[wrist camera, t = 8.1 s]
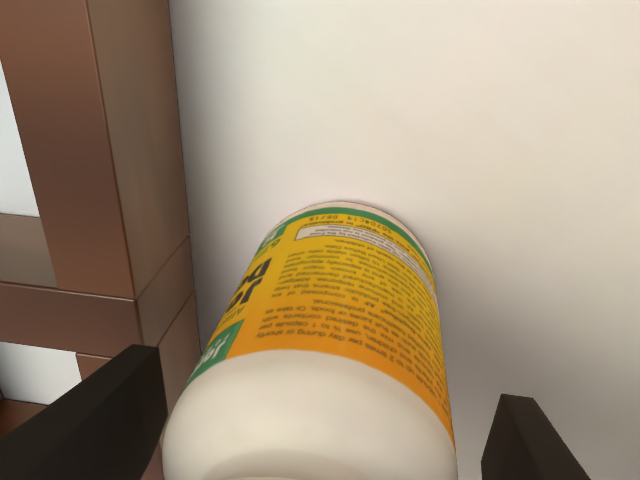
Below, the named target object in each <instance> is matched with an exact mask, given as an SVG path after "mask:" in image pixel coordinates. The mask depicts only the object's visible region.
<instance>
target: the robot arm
mask: <svg viewBox="0 0 640 480" xmlns="http://www.w3.org/2000/svg"><path fill="white" fill-rule="evenodd" d="M168 415H169V414H168V407H167V400H166V393H165V386H164V379H163V372H162V365H161V358H160V351H159V347H152V346H144V345H137V344H132V345H130V346H129V347H127V348H126V349H124V350H123V351H122V352H120V353H119V354H118V355H116V356H115V357H114V358H112V359H111V360H110V361H108V362H107V363H106V364H104V365H103V366H102V367H100V368H99V369H98V370H96V371H95V372H94V373H92V374H91V375H90V376H88V377H87V378H86V379H84V380H83V381H82V382H80V383H79V384H78V385H76V386H75V387H73V388H72V389H71V390H69V391H68V392H67V393H65V394H64V395H62V396H61V397H60V398H58V399H57V400H56V401H54V402H53V403H51V404H50V405H49V406H47V407H46V408H45V409H43V410H42V411H40V412H39V413H37V414H36V415H34V416H33V417H31V418H30V419H28V420H27V421H26V422H24V423H23V424H21V425H20V426H18V427H17V428H15V429H14V430H12V431H11V432H9V433H8V434H6V435H5V436H3V437H2V438H0V480H141V478H142V476H143V474H144V472H145V470H146V469H147V467H148V465H149V463H150V461H151V459H152V456H153V454H154V451H155V449H156V446H157V444H158V442H159V439H160V436H161V434H162V431H163V429H164V426H165V423H166V421H167V418H168ZM481 470H482V480H591V479H590V478H589V476H588V475H587V474H586V472H585V471H584V470H583V468H582V467H581V465H580V464H579V463H578V461H577V460H576V458H575V457H574V456H573V454H572V453H571V451H570V450H569V449H568V447H567V446H566V444H565V443H564V442H563V440H562V439H561V437H560V436H559V434H558V433H557V431H556V430H555V429H554V427H553V426H552V424H551V423H550V421H549V420H548V418H547V417H546V416H545V414H544V413H543V411H542V410H541V408H540V407H539V405H538V404H537V403H536V401H535V400H534V399H533V398H530V397H523V396H515V395H508V394H501V396H500V400H499V403H498V406H497V410H496V413H495V416H494V420H493V423H492V426H491V430H490V433H489V436H488V440H487V443H486V446H485V450H484V453H483V456H482V460H481Z"/></svg>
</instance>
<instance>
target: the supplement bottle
mask: <svg viewBox="0 0 640 480" xmlns="http://www.w3.org/2000/svg"><path fill="white" fill-rule="evenodd" d="M162 463H163V474H164V479H165V480H458V469H457V459H456V449H455V440H454V434H453V427H452V419H451V410H450V402H449V395H448V387H447V379H446V370H445V363H444V355H443V346H442V338H441V328H440V320H439V310H438V304H437V294H436V287H435V280H434V275H433V271H432V267H431V264H430V262H429V260H428V257H427V255H426V253H425V251H424V249H423V248H422V246H421V245H420V243H419V242H418V240H417V239H416V238H415V236H414V235H413V234H412V233H411V232H410V231H409V230H408V229H407V228H406V227H405V226H404V225H403V224H401V223H400V222H399V221H397V220H396V219H395V218H393V217H392V216H390V215H388V214H386V213H384V212H382V211H380V210H378V209H375V208H372V207H369V206H366V205H361V204H356V203H350V202H329V203H323V204H317V205H313V206H310V207H307V208H304V209H302V210H300V211H297V212H295V213H293V214H291V215H290V216H288V217H287V218H285V219H284V220H282V221H281V222H280V223H278V224H277V225H276V226H275V227H274V228H273V229H272V230H270V232H269V233H268V234H267V235H266V237H265V238H264V240H263V242H262V243H261V245H260V247H259V249H258V251H257V252H256V254H255V256H254V258H253V260H252V262H251V264H250V266H249V268H248V270H247V271H246V273H245V275H244V277H243V279H242V281H241V283H240V285H239V287H238V289H237V291H236V292H235V294H234V296H233V298H232V300H231V301H230V303H229V305H228V307H227V309H226V311H225V313H224V315H223V317H222V319H221V320H220V322H219V324H218V326H217V328H216V330H215V331H214V333H213V335H212V337H211V339H210V341H209V343H208V344H207V346H206V348H205V350H204V352H203V354H202V356H201V358H200V359H199V361H198V363H197V365H196V367H195V368H194V370H193V372H192V374H191V376H190V378H189V380H188V382H187V384H186V386H185V388H184V390H183V392H182V393H181V395H180V397H179V399H178V401H177V403H176V405H175V407H174V409H173V412H172V414H171V416H170V419H169V422H168V424H167V427H166V431H165V435H164V441H163V449H162Z"/></svg>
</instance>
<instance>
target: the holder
mask: <svg viewBox="0 0 640 480" xmlns="http://www.w3.org/2000/svg"><path fill="white" fill-rule="evenodd" d="M0 59H1V63H2V67H3V71H4V75H5V79H6V83H7V87H8V91H9V95H10V99H11V103H12V107H13V111H14V115H15V119H16V123H17V127H18V131H19V135H20V139H21V143H22V147H23V151H24V155H25V159H26V163H27V167H28V171H29V175H30V179H31V183H32V187H33V191H34V195H35V198H36V202H37V206H38V210H39V214H40V218H35V217H26V216H17V215H7V214H0V341H1V342H8V343H15V344H22V345H29V346H37V347H44V348H51V349H58V350H65V351H73V352H76V359H77V363H78V367H79V371H80V375H81V379H82V381H83V380H84V379H86V378H87V377H88V376H90V375H91V374H92V373H94V372H95V371H96V370H98V369H99V368H100V367H102V366H103V365H104V364H106V363H107V362H108V361H110V360H111V359H112V358H114V357H115V356H116V355H118V354H119V353H120V352H122V351H123V350H124V349H126V348H127V347H129V346H130V345H132V344H137V345H144V346H152V347H159V351H160V358H161V365H162V372H163V379H164V386H165V393H166V400H167V407H168V414H169V415H168V418H167V421H166V423H165V426H164V429H163V431H162V434H161V436H160V439H159V442H158V444H157V446H156V449H155V451H154V454H153V456H152V459H151V461H150V463H149V465H148V467H147V469H146V470H145V472H144V474H143V476H142V478H141V480H165V479H164V474H163V463H162V449H163V441H164V435H165V431H166V427H167V424H168V422H169V419H170V416H171V414H172V412H173V409H174V407H175V405H176V403H177V401H178V399H179V397H180V395H181V393H182V392H183V390H184V388H185V386H186V384H187V382H188V380H189V378H190V376H191V374H192V372H193V370H194V368H195V367H196V365H197V363H198V361H199V359H200V358H201V355H200V345H199V334H198V323H197V312H196V302H195V291H194V290H193V289H194V282H193V271H192V260H191V250H190V239H189V235H188V234H189V222H188V211H187V201H186V190H185V179H184V168H183V157H182V147H181V136H180V125H179V114H178V104H177V93H176V82H175V71H174V61H173V50H172V39H171V28H170V17H169V7H168V0H0ZM46 407H47V406H45V405H39V404H32V403H25V402H19V401H12V400H6V399H3V397H2V394H1V391H0V438H2V437H3V436H5V435H6V434H8V433H9V432H11V431H12V430H14V429H15V428H17V427H18V426H20V425H21V424H23V423H24V422H26V421H27V420H28V419H30V418H31V417H33V416H34V415H36V414H37V413H39V412H40V411H42V410H43V409H45V408H46Z"/></svg>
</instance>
